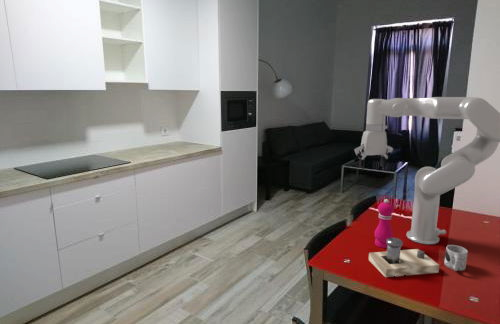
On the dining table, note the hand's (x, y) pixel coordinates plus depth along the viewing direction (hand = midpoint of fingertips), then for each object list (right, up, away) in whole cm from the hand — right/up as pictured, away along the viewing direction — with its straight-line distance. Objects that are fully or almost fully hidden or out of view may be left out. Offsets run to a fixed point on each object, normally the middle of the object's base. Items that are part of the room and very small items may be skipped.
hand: (372, 167), depth 142 cm
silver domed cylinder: (-2, -36, -23) cm, 43 cm away
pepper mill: (+2, -32, -6) cm, 33 cm away
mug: (+21, -36, -24) cm, 48 cm away
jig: (+2, -36, -23) cm, 42 cm away
